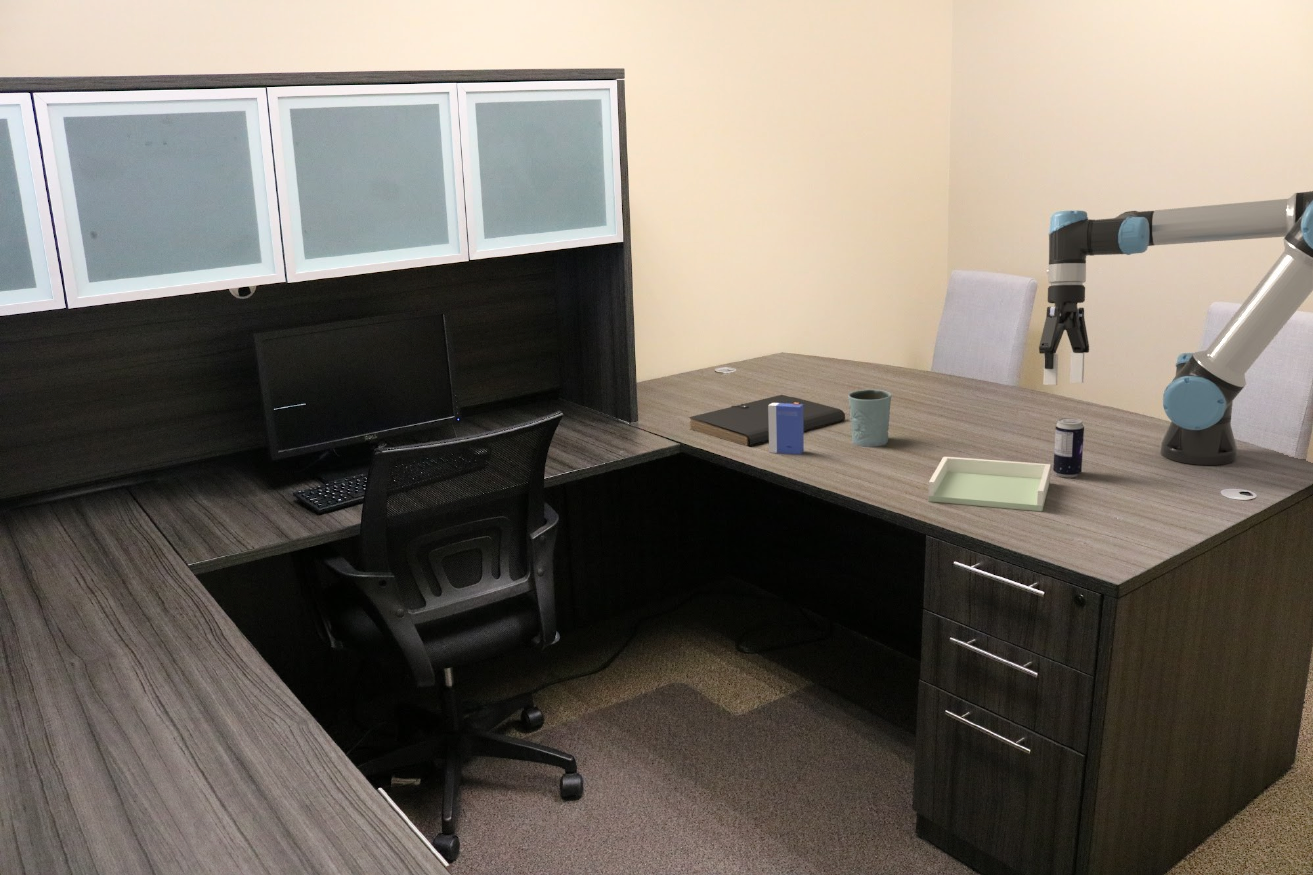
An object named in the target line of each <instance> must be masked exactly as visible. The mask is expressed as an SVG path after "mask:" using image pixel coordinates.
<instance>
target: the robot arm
mask: <svg viewBox="0 0 1313 875" xmlns="http://www.w3.org/2000/svg"><path fill="white" fill-rule="evenodd" d="M1282 237H1283V245H1284V250H1283V252H1282V253H1281V255H1280V256H1279V257H1278V259H1276V261H1275V262H1274V264H1273V265H1272V266H1271V267H1270V268H1269V270H1268V272H1267V273H1266V274H1265V275H1264V276H1263V278H1262V279H1261V280H1260V281H1259V283H1258V284H1257V285H1256V286H1255V288H1254V289H1253V290H1252V292H1251V293H1250V294H1249V295H1248V296H1247V298H1246V299H1245V300H1244V302H1243V303H1242V304H1241V306H1240V307H1239V308H1238V309H1237V311H1236V312H1235V313H1234V314H1233V316H1232V317H1231V318H1230V319H1229V321H1228V322H1227V324H1226V325H1225V326H1224V327H1223V328H1222V330H1221V331H1220V332H1219V334H1218V335H1217V336H1216V338H1215V339H1214V340H1213V341H1212V343H1210V345H1209V346H1208V347H1207V349H1205V350H1202V351H1195V352H1185V353H1180V354H1179V355H1178V356H1177V359H1176V363H1175V367H1176V371H1175V377H1173V379H1172V381H1171V382H1170V383H1169V384H1168V385H1167V386H1166V387H1165V389H1164V393H1163V396H1162V406H1163V410H1164V413H1165V415H1166V416H1167V418H1168V419H1169V420H1170V423H1169V425H1168V428H1167V429H1166V432H1165V434H1164V436H1163V439H1162V441H1161V445H1160V454H1161V455H1162V457H1164V458H1166V459H1168V460H1171V461H1175V462H1179V463H1184V464H1190V465H1198V466H1199V465H1200V466H1219V465H1226V464H1229V463H1233V462H1235V461H1236V459H1237V455H1238V454H1237V452H1238V448H1237V444H1236V440H1235V436H1234V432H1233V429H1232V425H1231V424H1232V423H1231V422H1232V412H1233V403H1234V400H1235V399H1236V398H1237V396H1238V395H1239V394H1240V393H1241V391H1242V390H1243V389H1244V387H1246V385H1247V381H1246V375H1245V374H1246V373H1247V372H1248V370H1249V369H1251V367H1252V365H1254V363H1255V362H1256V361H1257V359H1259V357H1260V356H1261V354H1262V353H1263V352H1264V351H1265V350H1266V348H1267V347H1268V346H1269V345H1270V343H1271V342H1272V341H1273V339H1275V338H1276V336H1277V335H1278V333H1280V332H1281V330H1282V329H1283V328H1284V326H1285V325H1286V324H1287V323H1288V322H1289V320H1290V319H1291V318H1292V317H1293V315H1294V314H1295V313H1296V312H1297V311H1298V310H1299V308H1300V307H1301V305H1303V303H1305V301H1306V299H1307V298H1308V297H1309V296H1310V295H1311V294H1312V292H1313V190H1312V191H1311V190H1310V191H1303V192H1295V193H1293V194H1292V195H1291V196H1290V197H1288V198H1283V199H1271V200H1269V199H1268V200H1258V201H1257V200H1256V201H1247V202H1246V201H1245V202H1235V203H1226V204H1225V203H1223V204H1212V205H1202V206H1201V205H1200V206H1190V207H1188V206H1187V207H1180V208H1179V207H1178V208H1167V209H1166V208H1165V209H1157V210H1144V211H1142V210H1141V211H1138V210H1130V211H1125V212H1123V213H1120V214H1119V215H1118V216H1116V217H1114V218H1101V219H1100V218H1099V219H1089V217H1088V213H1087V212H1086V210H1061V211H1057V212H1054V213H1053V214H1051V217H1050V224H1049V233H1048V269H1047V270H1046V273H1047V275H1048V284H1050V285H1049V286H1048V288H1047V303H1048V304H1054V306H1047V307H1046V317H1045V321H1044V326H1043V330H1042V333H1041V338H1040V342H1039V345H1038V351H1039V354H1041V355H1042V354H1043V382H1042V385H1044V386H1045V385H1046V386H1058V375H1059V374H1058V370H1059V367H1058V366H1059V364H1058V363H1059V362H1058V361H1059V354H1058V353H1056V352H1057V350H1058V348H1059V345H1060V342H1061V341H1062V337H1063V335H1064V332H1065V331H1066V334H1067V336H1068V340H1069V343H1070V346H1071V349H1072V352H1070V368H1069V373H1070V374H1069V383H1071V384H1072V383H1073V384H1074V383H1076V384H1079V383H1080V384H1084V375H1085V374H1084V372H1085V353H1086V354H1087V353H1089V352H1090V342H1089V338H1088V332H1087V326H1086V325H1087V324H1086V321H1085V308H1084V307H1078V304H1081V303H1084V302H1085V300H1086V286H1085V285H1083V284H1084V283H1086V280H1087V256H1089V257H1090V256H1112V255H1114V256H1115V255H1127V256H1131V255H1134V254H1142V253H1145V252H1146V251H1147V250H1148V247H1153V246H1165V245H1179V244H1181V245H1182V244H1194V243H1195V244H1196V243H1207V242H1208V243H1210V242H1223V241H1224V242H1225V241H1226V242H1227V241H1239V240H1240V241H1241V240H1253V239H1254V240H1255V239H1270V238H1282Z"/></svg>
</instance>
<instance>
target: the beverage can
mask: <svg viewBox="0 0 1313 875" xmlns="http://www.w3.org/2000/svg"><path fill="white" fill-rule="evenodd" d="M1083 422H1084V421H1083V420H1082V419H1080V418H1075V417H1074V418H1073V417H1063V418H1059V419H1058V420H1057V423H1056V425H1055V431H1054V432H1055V433H1054V447H1053V448H1054V451H1053V452H1054V453H1053V468H1052V469H1053V471H1054V473H1055V474H1056V475H1057V476H1059V477H1061V478H1076V477H1078V475H1080V474H1081V473H1082V468H1083V451H1084V450H1083V449H1084V436H1085V426H1084V424H1083Z"/></svg>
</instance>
